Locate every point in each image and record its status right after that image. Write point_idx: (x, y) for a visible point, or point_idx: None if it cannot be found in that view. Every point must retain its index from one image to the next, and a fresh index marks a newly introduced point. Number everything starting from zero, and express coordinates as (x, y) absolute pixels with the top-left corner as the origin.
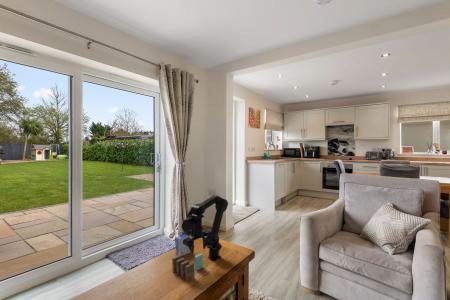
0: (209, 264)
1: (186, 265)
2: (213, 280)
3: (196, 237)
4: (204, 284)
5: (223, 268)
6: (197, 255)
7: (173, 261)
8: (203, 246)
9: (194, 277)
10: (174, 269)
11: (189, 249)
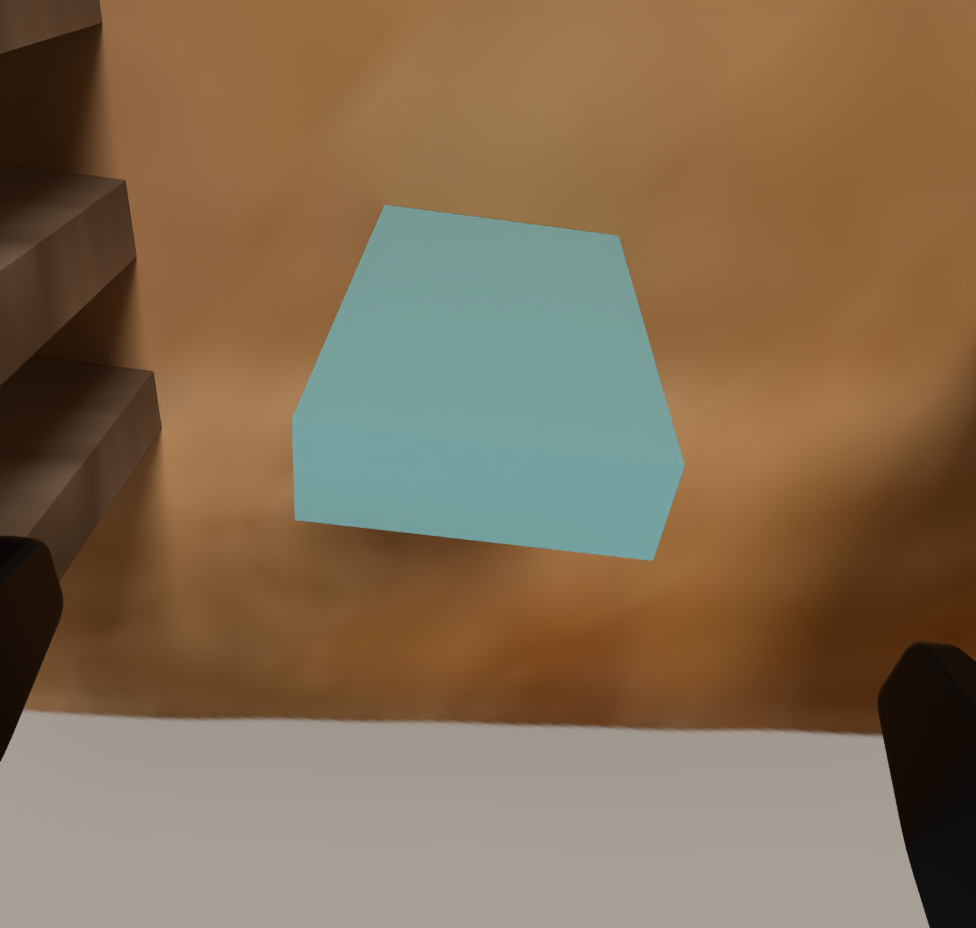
0: (806, 367)
1: None
2: (365, 703)
3: None
4: (188, 662)
5: (770, 662)
6: (451, 464)
7: None
8: (971, 779)
9: (158, 431)
10: None
11: None
